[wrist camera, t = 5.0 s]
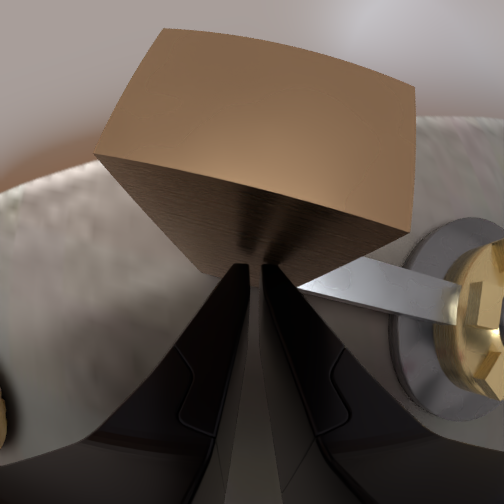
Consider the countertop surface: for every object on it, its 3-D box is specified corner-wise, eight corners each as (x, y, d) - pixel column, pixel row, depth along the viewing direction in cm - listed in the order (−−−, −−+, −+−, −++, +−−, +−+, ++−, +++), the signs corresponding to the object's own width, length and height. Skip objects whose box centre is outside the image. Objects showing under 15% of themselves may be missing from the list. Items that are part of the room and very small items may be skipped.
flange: (539, 339, 17) (552, 339, 15) (431, 452, 15) (443, 460, 14) (481, 194, 19) (494, 187, 17) (350, 286, 17) (360, 283, 16)
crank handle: (531, 265, 16) (660, 227, 4) (512, 393, 14) (648, 413, 3) (233, 166, 16) (226, -49, 5) (183, 338, 15) (27, 402, 3)
